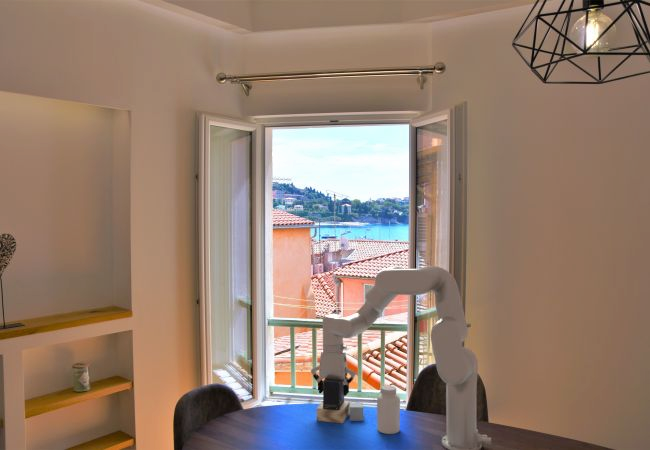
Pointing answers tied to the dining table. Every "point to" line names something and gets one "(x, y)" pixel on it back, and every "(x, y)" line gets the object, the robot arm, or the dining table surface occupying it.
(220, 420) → the dining table surface
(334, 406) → the small box
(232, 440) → the dining table surface
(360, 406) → the slate cube
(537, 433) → the dining table surface
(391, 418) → the pill bottle
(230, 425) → the dining table surface
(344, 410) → the beech plinth
